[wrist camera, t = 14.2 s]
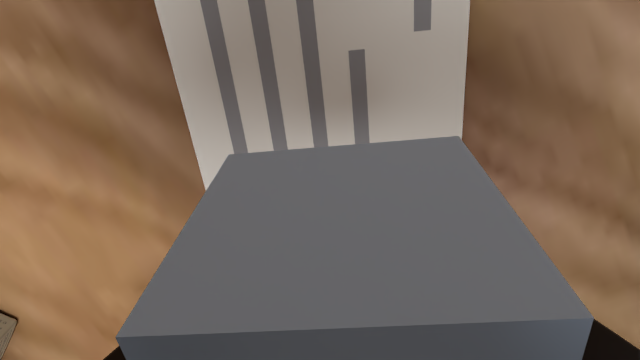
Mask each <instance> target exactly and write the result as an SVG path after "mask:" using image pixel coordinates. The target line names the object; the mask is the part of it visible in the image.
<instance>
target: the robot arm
mask: <svg viewBox="0 0 640 360" xmlns="http://www.w3.org/2000/svg"><path fill="white" fill-rule="evenodd" d="M103 360H126V358H125V356H124V354H123V352H122V350H121V348H120V346H118V347H117V348H116V349H115V350H114V351H113V352H111V353H110V354H109V355H108V356H107V357H106V358H104V359H103ZM582 360H640V350H639V349H638V348H636V347H635V346H633V345H632V344H630V343H629V342H628V341H626V340H625V339H623V338H622V337H620V336H619V335H617V334H616V333H614V332H613V331H611V330H610V329H608V328H607V327H605V326H604V325H602V324H601V323H599V322H598V321H596V320H595V319H594V320H593V323H592V327H591V330H590V333H589V337H588V340H587V344H586V347H585V351H584V354H583V357H582Z"/></svg>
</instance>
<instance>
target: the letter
mask: <svg viewBox="0 0 640 360" xmlns="http://www.w3.org/2000/svg"><path fill="white" fill-rule="evenodd" d="M154 2H155V6H156V9H157V13H158V17H159V20H160V24H161V28H162V31H163V35H164V39H165V42H166V46H167V50H168V53H169V57H170V61H171V64H172V68H173V72H174V76H175V79H176V83H177V87H178V90H179V94H180V98H181V101H182V105H183V109H184V112H185V116H186V120H187V123H188V127H189V131H190V134H191V138H192V142H193V145H194V149H195V153H196V156H197V160H198V164H199V168H200V171H201V175H202V179H203V182H204V186H205V190H207V189H208V187H209V185H210V184H211V182H212V181H213V179H214V177H215V176H216V174H217V173H218V171H219V169H220V168H221V166H222V164H223V163H224V161H225V160H226V158H227V156H228V155H229V154H241V153H253V152H266V151H278V150H291V149H303V148H315V147H328V146H340V145H352V144H365V143H377V142H390V141H402V140H414V139H427V138H439V137H451V136H459V137H460V139H461V140H462V128H463V111H464V95H465V78H466V62H467V45H468V28H469V12H470V0H154Z"/></svg>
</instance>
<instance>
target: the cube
mask: <svg viewBox="0 0 640 360" xmlns="http://www.w3.org/2000/svg"><path fill="white" fill-rule="evenodd" d="M593 320H594V317H593V316H592V315H591V313H590V312H589V311H588V309H587V308H586V307H585V305H584V304H583V303H582V301H581V300H580V299H579V297H578V296H577V295H576V293H575V292H574V291H573V289H572V288H571V287H570V285H569V284H568V282H567V281H566V280H565V278H564V277H563V276H562V274H561V273H560V272H559V270H558V269H557V268H556V266H555V265H554V264H553V262H552V261H551V260H550V258H549V257H548V256H547V254H546V253H545V252H544V250H543V249H542V247H541V246H540V245H539V243H538V242H537V241H536V239H535V238H534V237H533V235H532V234H531V233H530V231H529V230H528V229H527V227H526V226H525V225H524V223H523V222H522V221H521V219H520V218H519V217H518V215H517V214H516V213H515V211H514V210H513V208H512V207H511V206H510V204H509V203H508V202H507V200H506V199H505V198H504V196H503V195H502V194H501V192H500V191H499V190H498V188H497V187H496V186H495V184H494V183H493V182H492V180H491V179H490V178H489V176H488V175H487V173H486V172H485V171H484V169H483V168H482V167H481V165H480V164H479V163H478V161H477V160H476V159H475V157H474V156H473V155H472V153H471V152H470V151H469V149H468V148H467V147H466V145H465V144H464V143H463V141H462V140H461V139H460V137H459V136H451V137H439V138H427V139H414V140H402V141H390V142H377V143H365V144H352V145H340V146H328V147H315V148H303V149H291V150H278V151H266V152H253V153H241V154H229V155H228V156H227V158H226V160H225V161H224V163H223V164H222V166H221V168H220V169H219V171H218V173H217V174H216V176H215V177H214V179H213V181H212V182H211V184H210V185H209V187H208V189H207V190H206V192H205V194H204V195H203V197H202V198H201V200H200V202H199V203H198V205H197V206H196V208H195V210H194V211H193V213H192V215H191V216H190V218H189V219H188V221H187V223H186V224H185V226H184V227H183V229H182V231H181V232H180V234H179V236H178V237H177V239H176V240H175V242H174V244H173V245H172V247H171V248H170V250H169V252H168V253H167V255H166V257H165V258H164V260H163V261H162V263H161V265H160V266H159V268H158V269H157V271H156V273H155V274H154V276H153V278H152V279H151V281H150V282H149V284H148V286H147V287H146V289H145V290H144V292H143V294H142V295H141V297H140V299H139V300H138V302H137V303H136V305H135V307H134V308H133V310H132V311H131V313H130V315H129V316H128V318H127V320H126V321H125V323H124V324H123V326H122V328H121V329H120V331H119V333H118V334H117V336H116V340H117V342H118V344H119V346H120V348H121V350H122V352H123V354H124V356H125V358H126V360H582V357H583V354H584V351H585V347H586V344H587V340H588V337H589V333H590V330H591V327H592V323H593Z"/></svg>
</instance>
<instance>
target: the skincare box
mask: <svg viewBox="0 0 640 360" xmlns="http://www.w3.org/2000/svg"><path fill="white" fill-rule="evenodd" d="M16 323H17V320H16V319H13V318H10V317H8V316H6V315H3V314H1V313H0V360H1V358H2V356H3V354H4V352H5V349H6V347H7V345H8V343H9V340H10V338H11V336H12V333H13V331H14V328H15V326H16Z"/></svg>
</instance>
